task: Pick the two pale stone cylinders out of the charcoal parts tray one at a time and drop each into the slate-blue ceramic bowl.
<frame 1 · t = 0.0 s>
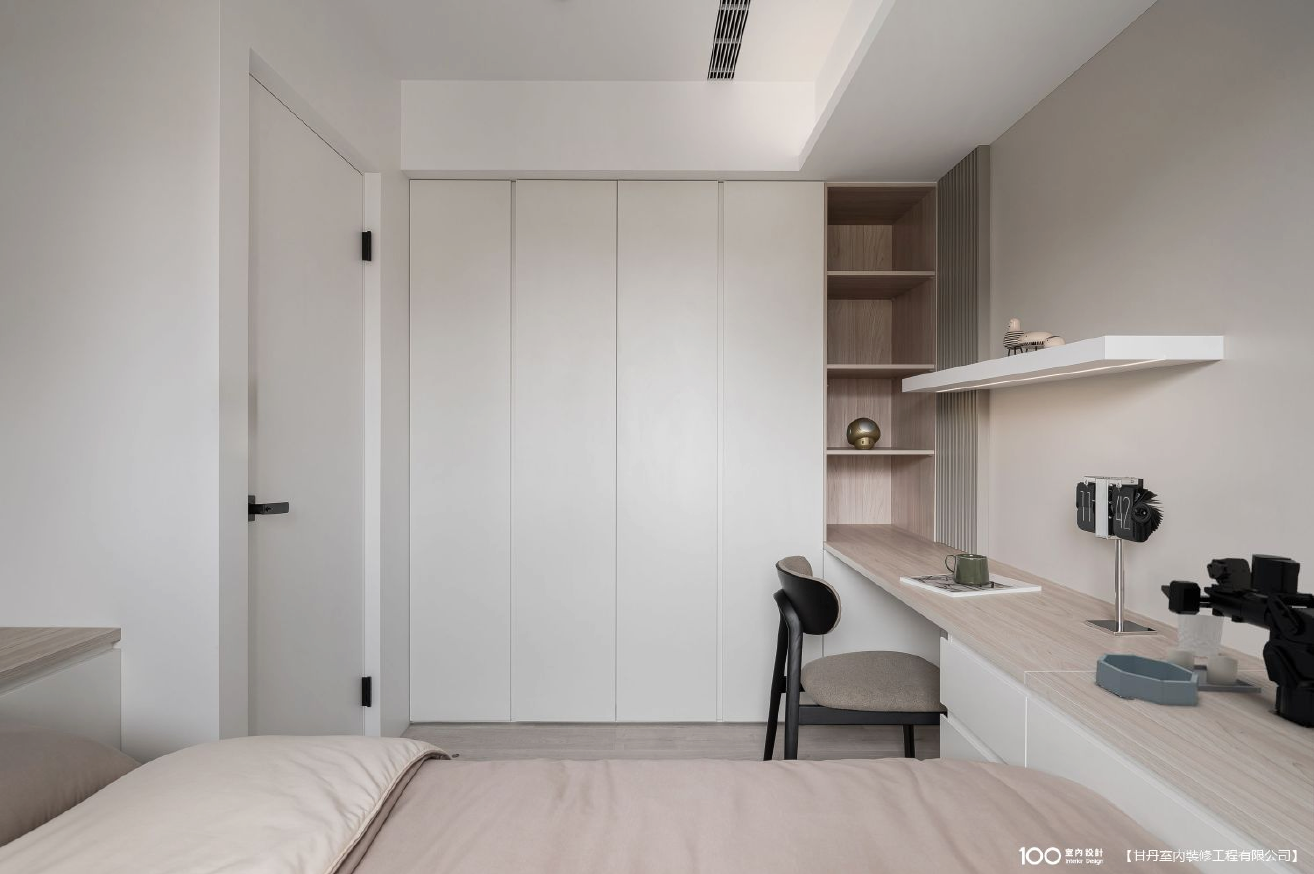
hand: (1183, 588, 138), 17 cm above the table, tool horizontal, fingers open, 9 cm apart
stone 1: (1221, 684, 128), point 1 cm above the table, touching parts tray
white cup: (1197, 656, 147), on the table
parts tray: (1199, 682, 130), on the table
bowl: (1145, 691, 124), on the table
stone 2: (1179, 674, 132), point 1 cm above the table, touching parts tray
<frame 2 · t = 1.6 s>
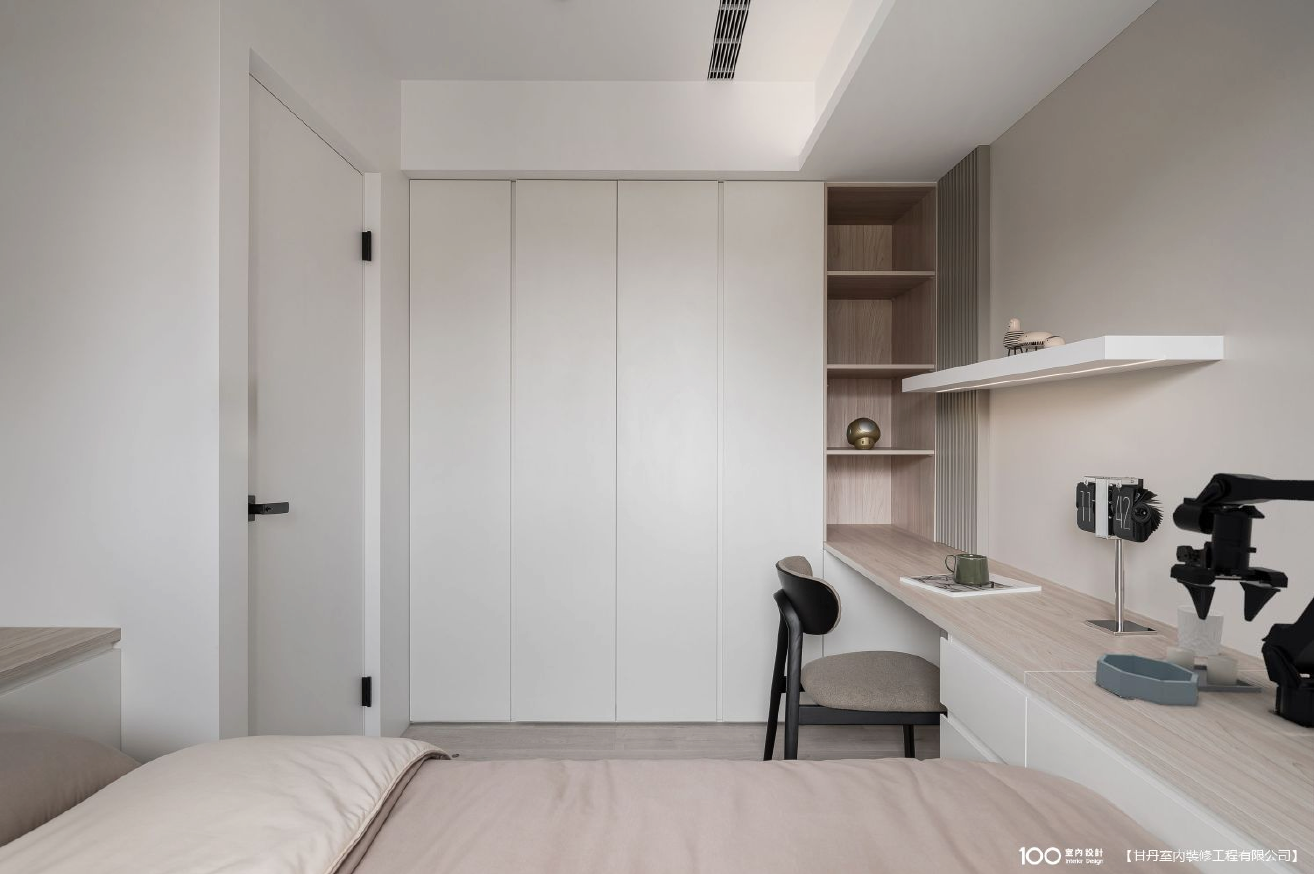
hand: (1225, 620, 127), 13 cm above the table, tool pointing down, fingers open, 9 cm apart
nothing on the table moved.
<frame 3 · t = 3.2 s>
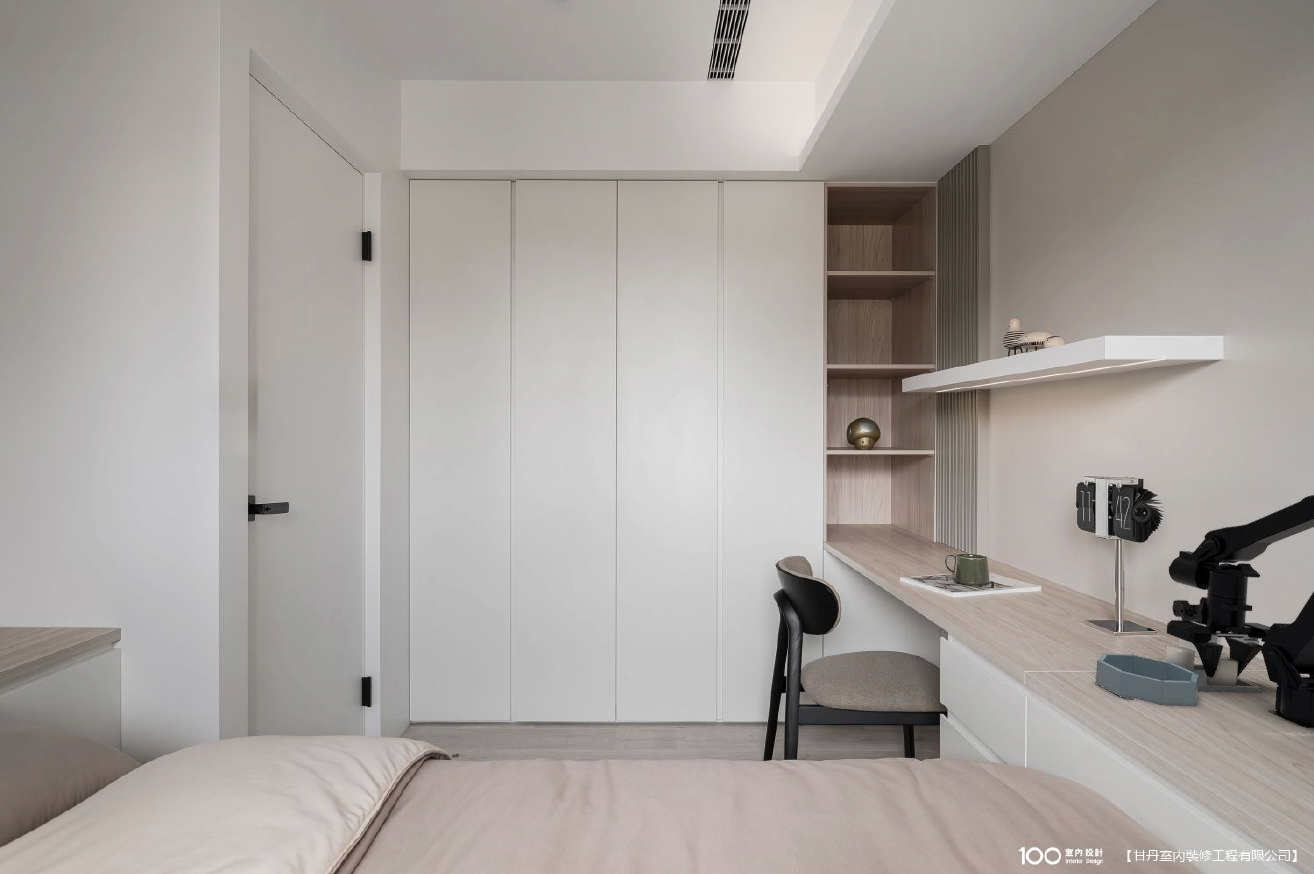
hand: (1221, 677, 128), 2 cm above the table, tool pointing down, fingers closed on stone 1, 4 cm apart
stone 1: (1221, 684, 128), point 1 cm above the table, touching gripper, parts tray
everything else where it was.
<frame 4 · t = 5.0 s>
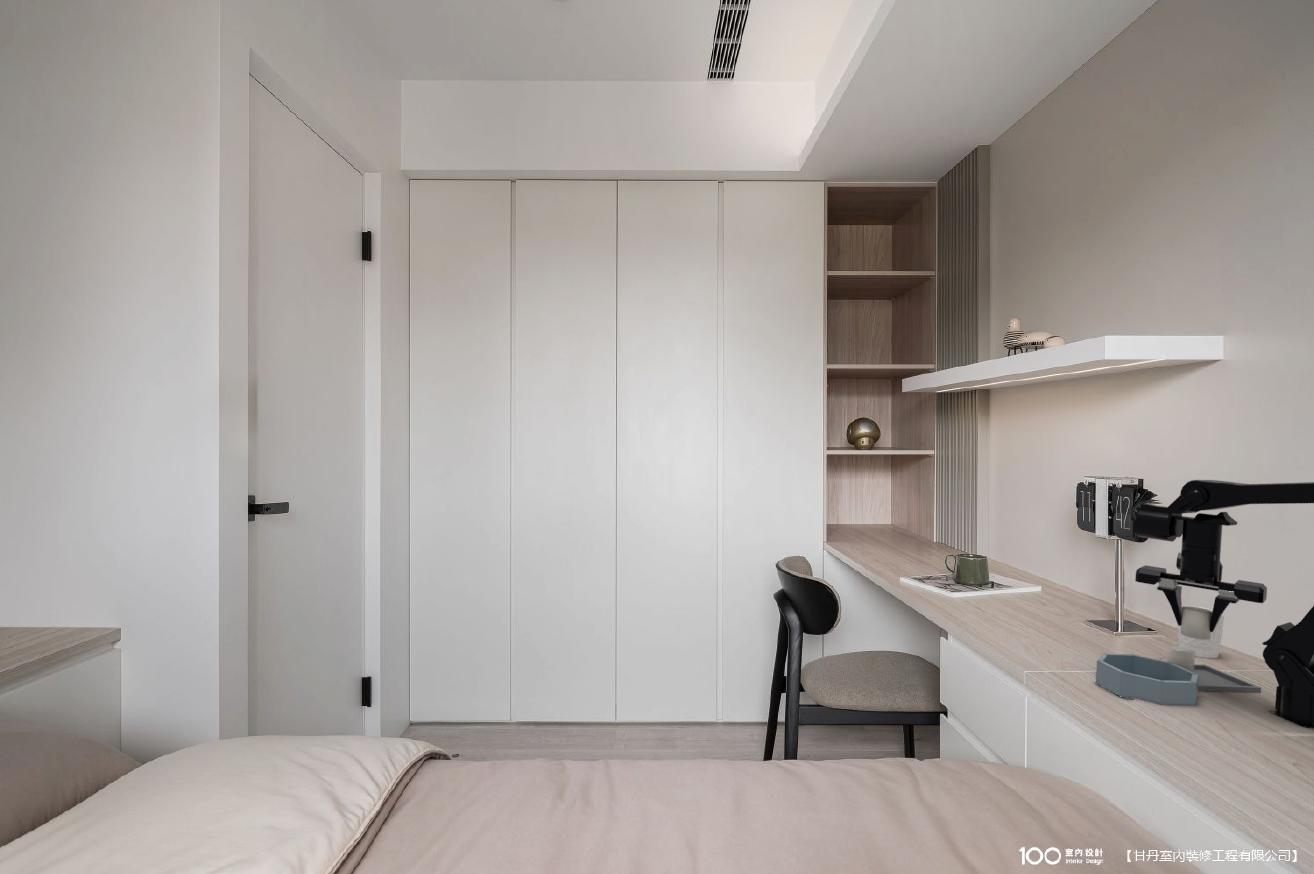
hand: (1195, 628, 126), 12 cm above the table, tool pointing down, fingers closed on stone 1, 4 cm apart
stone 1: (1195, 635, 126), point 10 cm above the table, touching gripper
everything else where it was.
when the fingers open (4 cm above the table, at t = 7.1 s): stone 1 drops 2 cm, resting on bowl.
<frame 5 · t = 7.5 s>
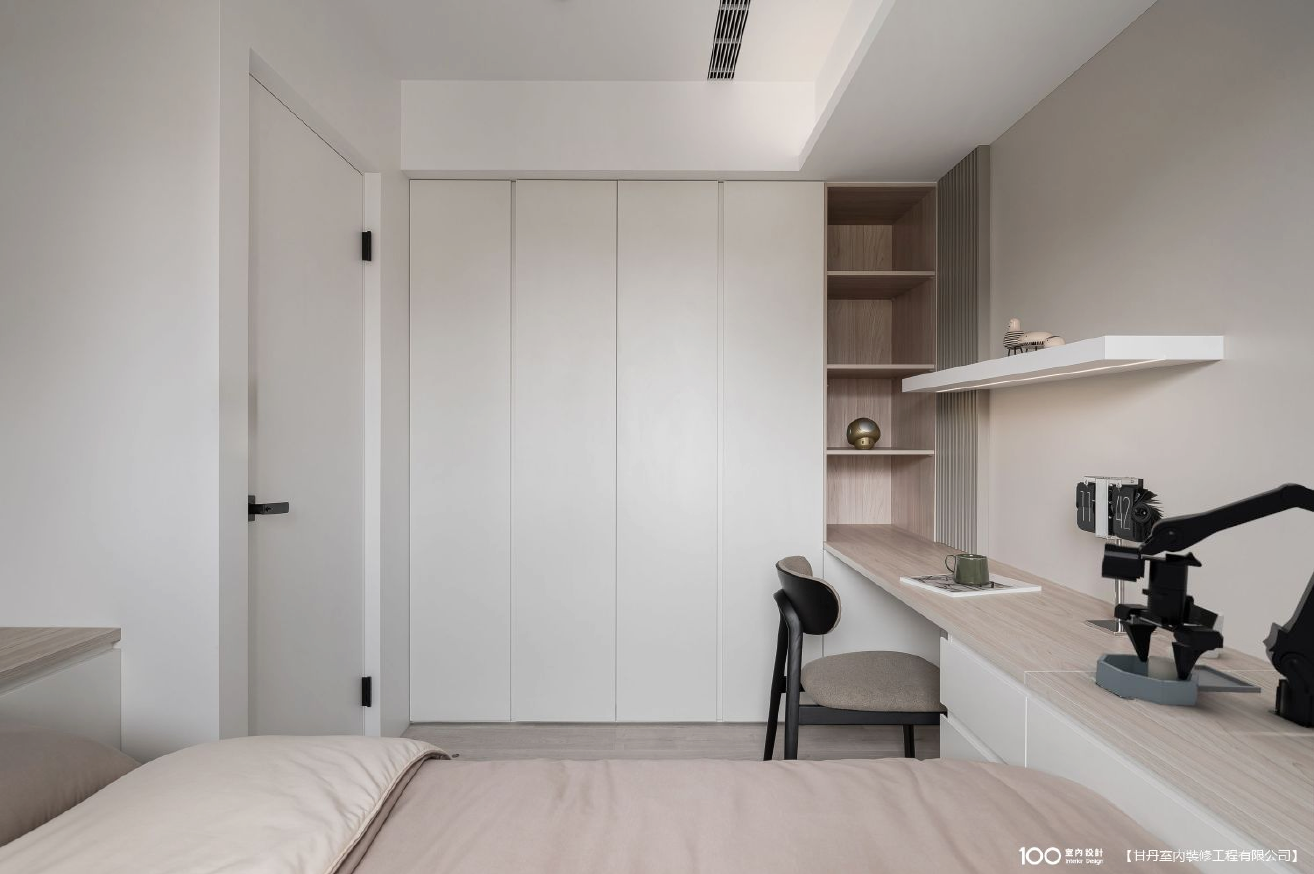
hand: (1162, 670, 124), 4 cm above the table, tool pointing down, fingers open, 9 cm apart
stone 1: (1161, 686, 124), point 1 cm above the table, touching bowl
everything else where it was.
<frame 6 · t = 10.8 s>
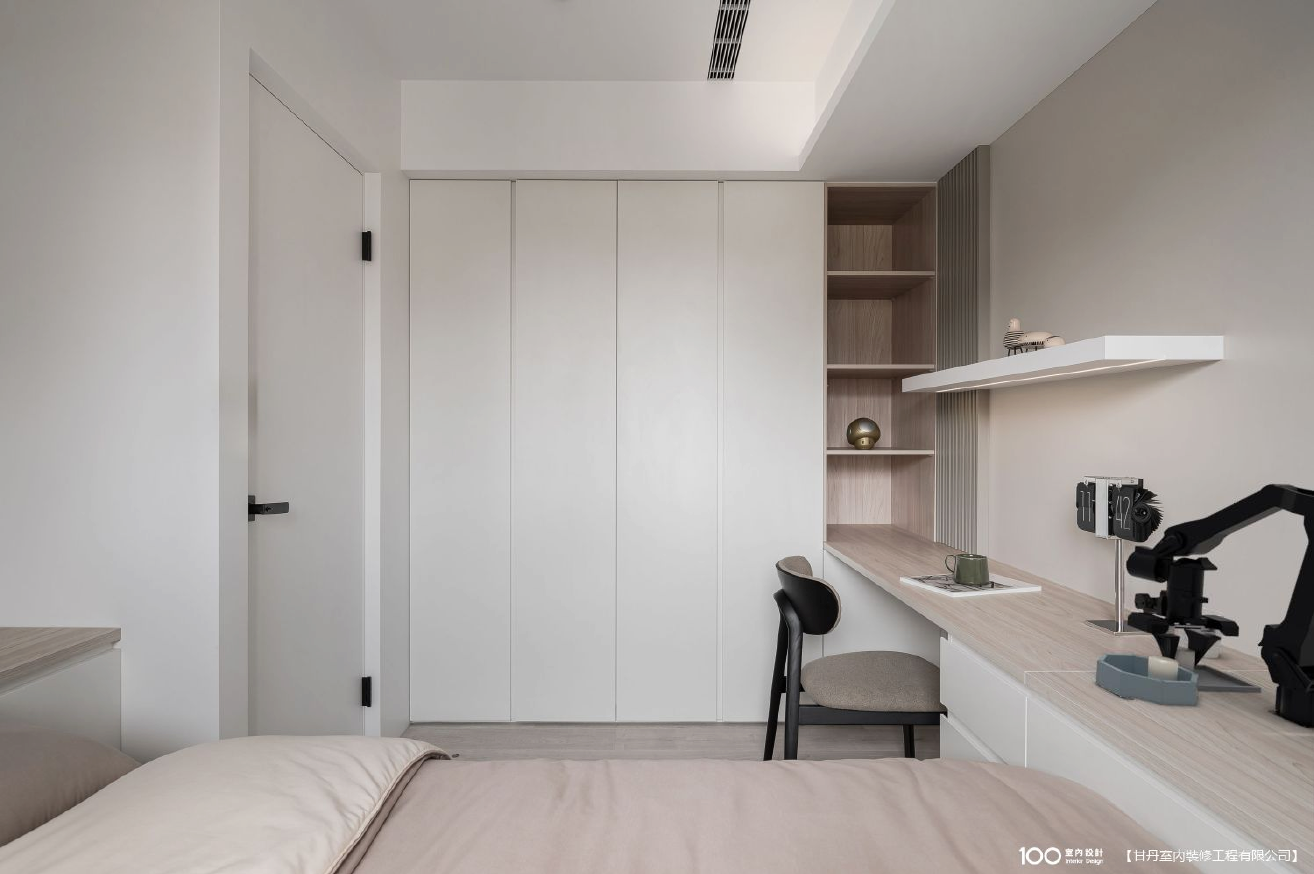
hand: (1179, 667, 132), 2 cm above the table, tool pointing down, fingers closed on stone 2, 4 cm apart
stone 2: (1179, 674, 132), point 1 cm above the table, touching gripper, parts tray
everything else where it was.
when the fingers open (4 cm above the table, at t = 14.9 s): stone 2 drops 2 cm, resting on bowl.
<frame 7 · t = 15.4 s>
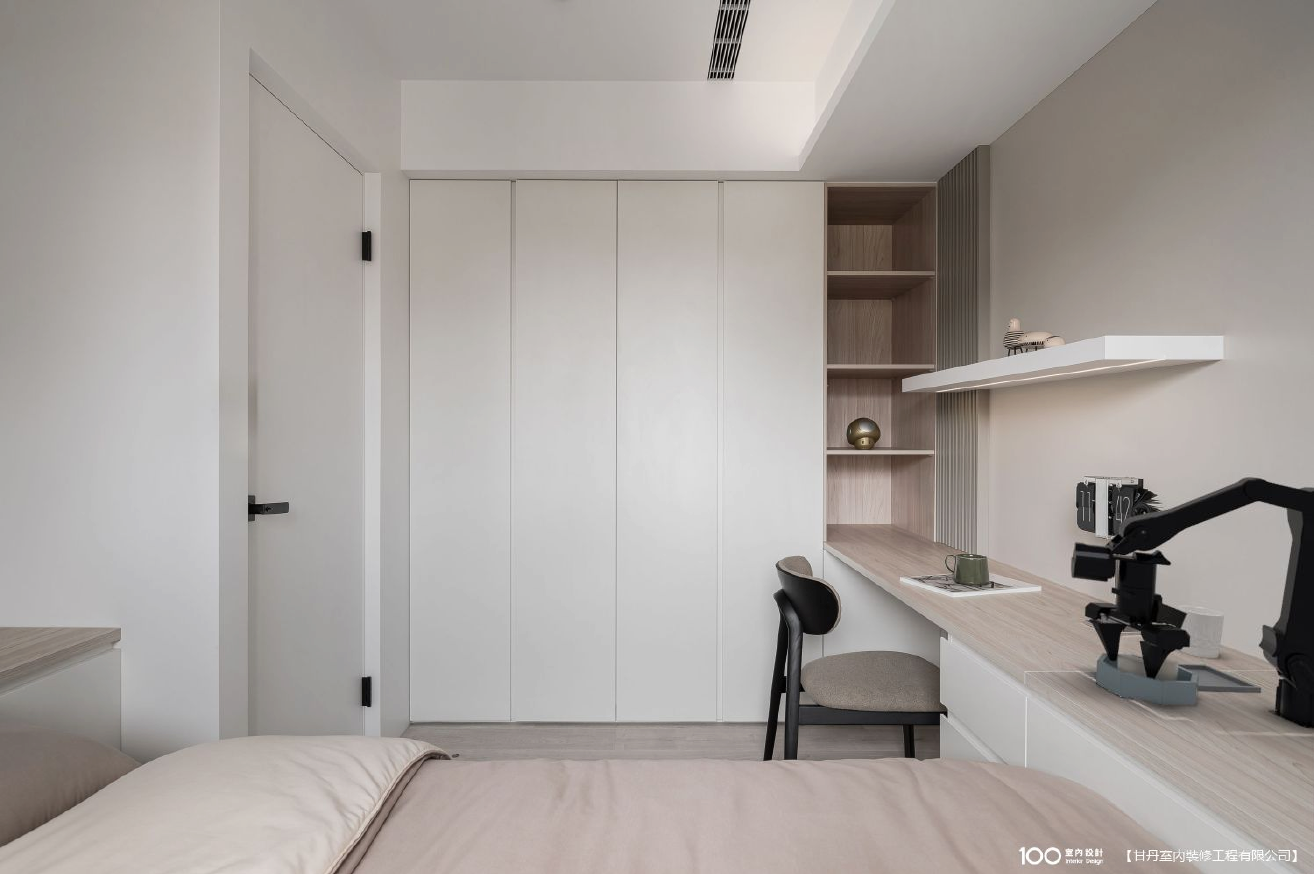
hand: (1131, 669, 124), 4 cm above the table, tool pointing down, fingers open, 9 cm apart
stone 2: (1130, 685, 124), point 1 cm above the table, touching bowl
everything else where it was.
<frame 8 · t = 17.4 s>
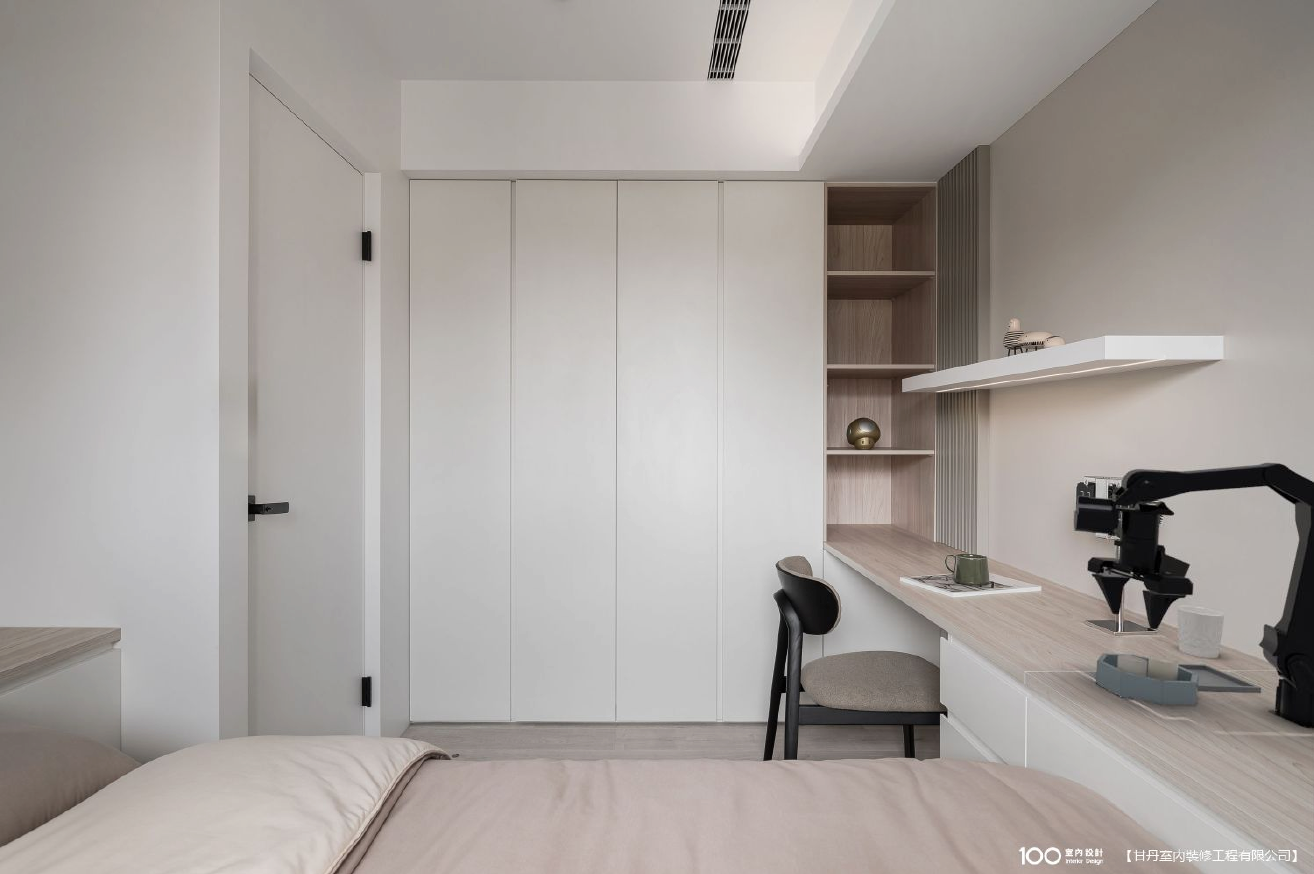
hand: (1133, 621, 123), 13 cm above the table, tool pointing down, fingers open, 9 cm apart
nothing on the table moved.
at the end: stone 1 inside the target area on the bowl (3.1 cm from its centre), point 1.0 cm above the bowl's base; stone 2 inside the target area on the bowl (2.9 cm from its centre), point 1.0 cm above the bowl's base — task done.
